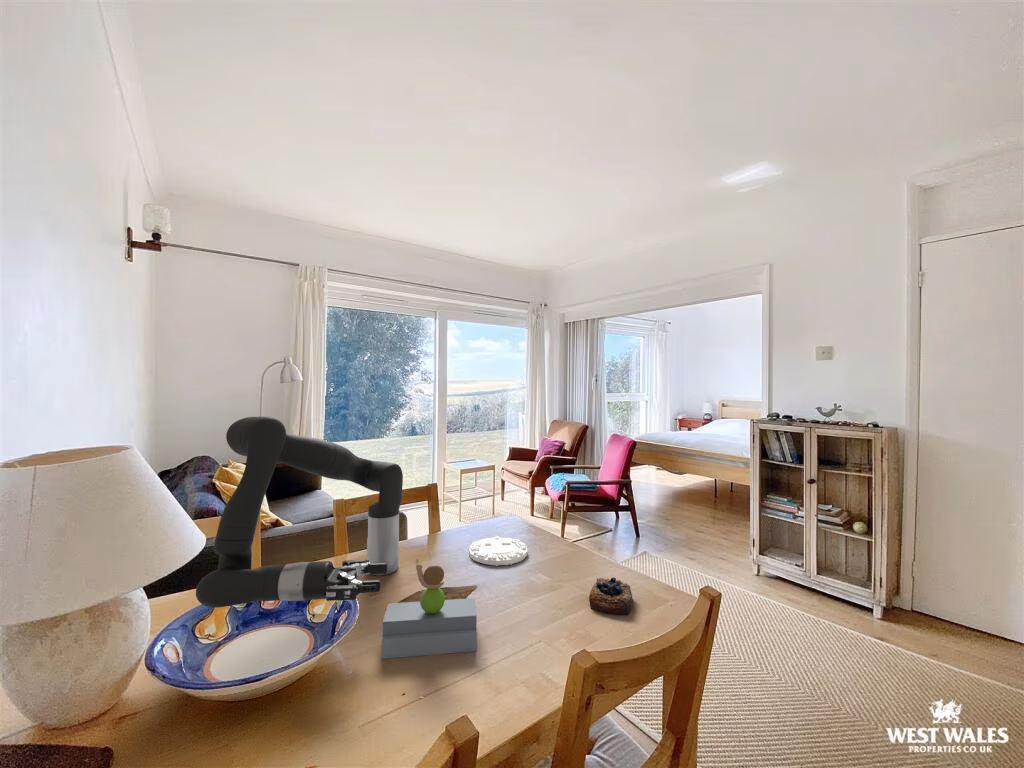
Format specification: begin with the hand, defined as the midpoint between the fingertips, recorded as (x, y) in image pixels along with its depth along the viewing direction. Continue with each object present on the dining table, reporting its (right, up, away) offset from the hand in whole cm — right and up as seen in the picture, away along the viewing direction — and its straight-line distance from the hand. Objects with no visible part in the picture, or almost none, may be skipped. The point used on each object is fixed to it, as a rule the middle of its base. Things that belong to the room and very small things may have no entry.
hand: (384, 576), depth 92 cm
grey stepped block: (+10, -15, +2) cm, 18 cm away
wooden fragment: (+8, -16, +20) cm, 26 cm away
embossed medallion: (+24, -16, +50) cm, 57 cm away
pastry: (+55, -16, +18) cm, 60 cm away
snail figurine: (+10, -8, 0) cm, 13 cm away
